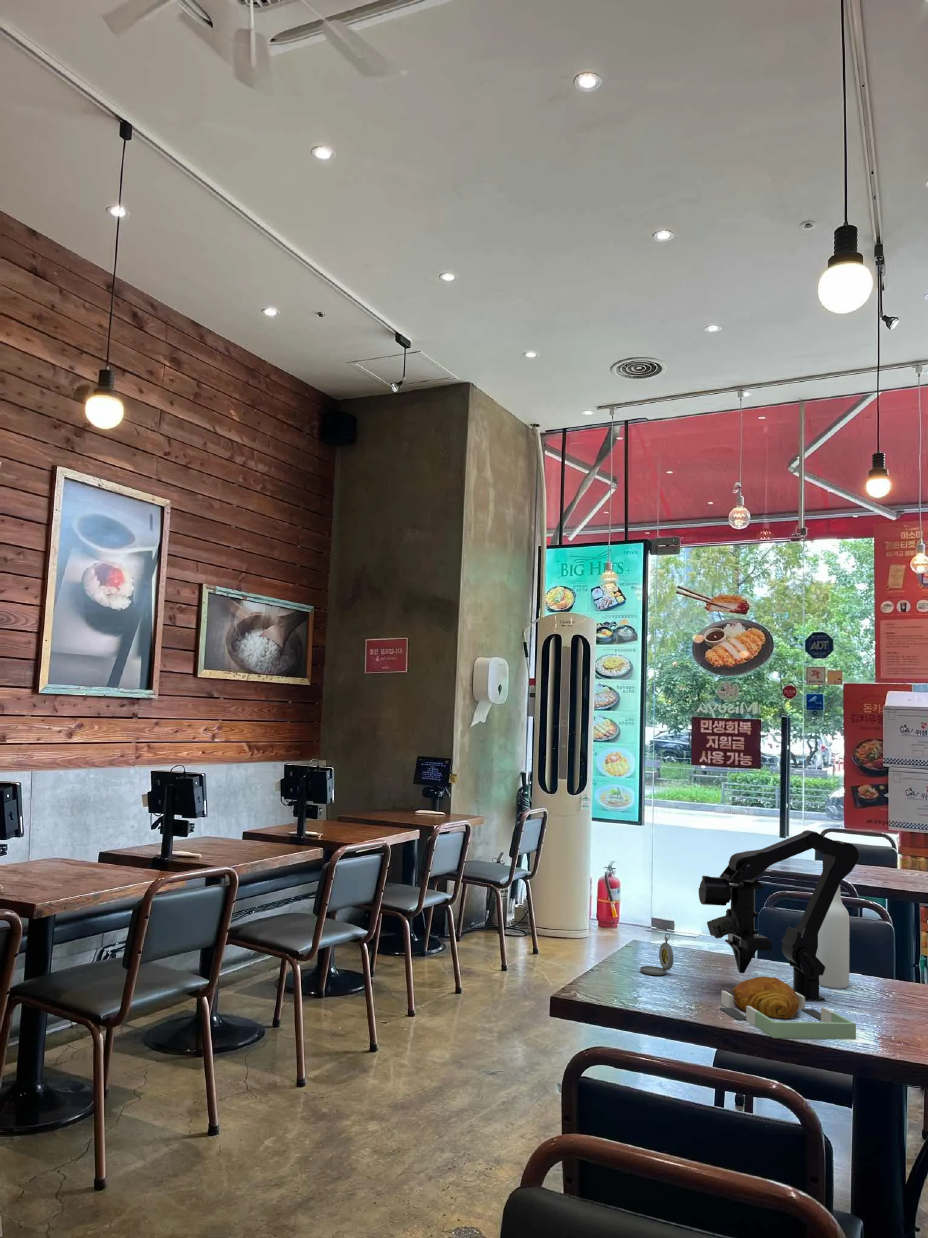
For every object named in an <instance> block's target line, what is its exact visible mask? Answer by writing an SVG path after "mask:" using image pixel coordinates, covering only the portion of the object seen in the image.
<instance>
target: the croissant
mask: <svg viewBox="0 0 928 1238" xmlns="http://www.w3.org/2000/svg"><path fill="white" fill-rule="evenodd" d="M732 993H734V994H733V1001H734V1003H735V1004H736V1006H737V1007H738V1008H739V1009H740V1010H741V1011H744V1012H746V1006H751V1007H752V1008H754V1009H755V1010H757V1011H759V1012H760V1013H762V1014H764V1015H765V1016H767V1017H768V1018H773V1017H774V1018H775V1019H781V1018H782V1019H783V1020H787V1019H788V1020H789V1018H790V1019H791V1018H793V1017H794V1015H796V1013H797V1012H799V1010H800V1009H799V998H798V996H797V994H796V993H795V991H794V990H793V987H791V986H790V985H789V984H787V983H786V982H785V981H782V980H780V979H779V978H777V977H773V976H770V977H769V976H758V977H753V978H750V979H746V980H744V981H742V982H740V983H738V984H737V985H736V986H734V987H733V989H732Z"/></svg>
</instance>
